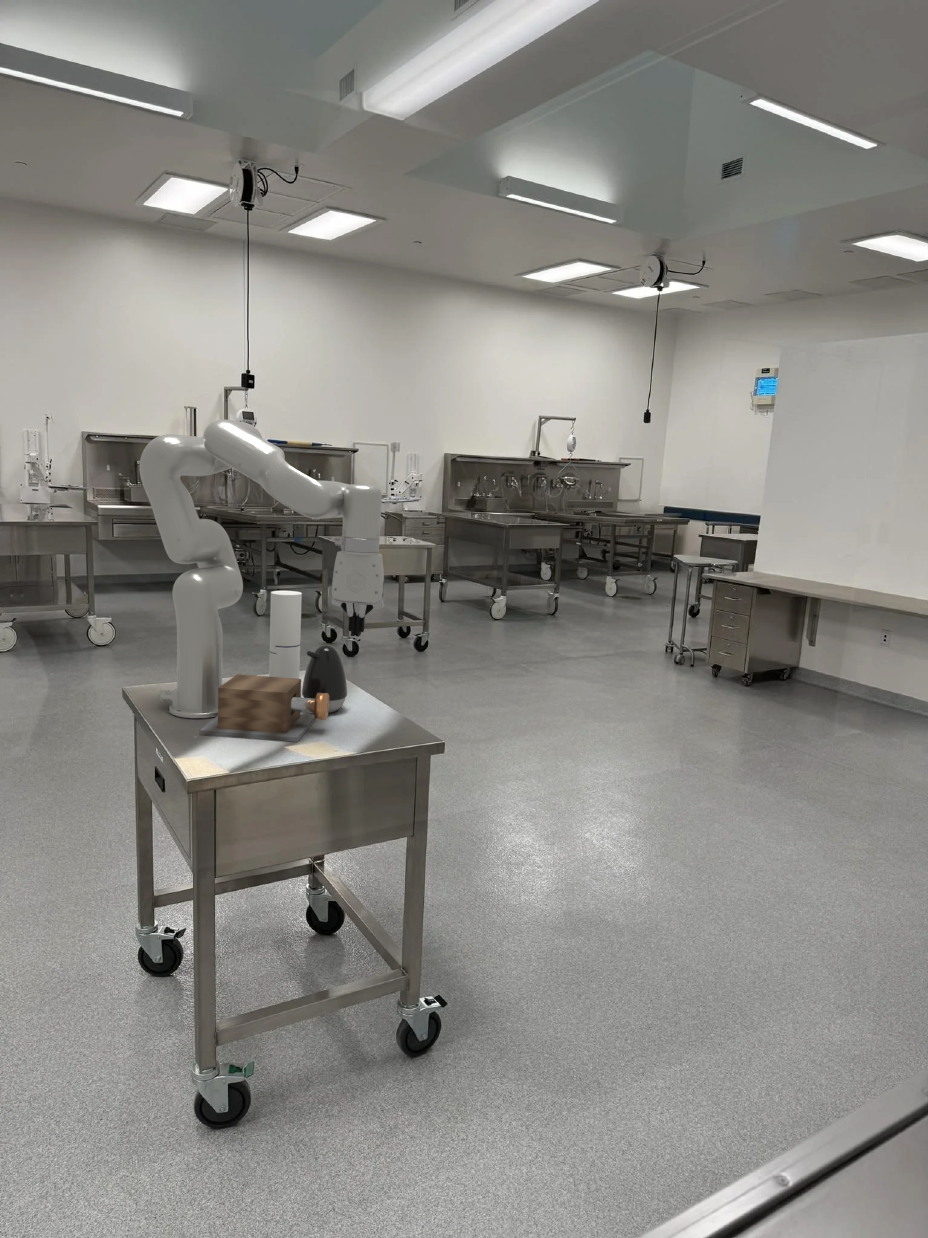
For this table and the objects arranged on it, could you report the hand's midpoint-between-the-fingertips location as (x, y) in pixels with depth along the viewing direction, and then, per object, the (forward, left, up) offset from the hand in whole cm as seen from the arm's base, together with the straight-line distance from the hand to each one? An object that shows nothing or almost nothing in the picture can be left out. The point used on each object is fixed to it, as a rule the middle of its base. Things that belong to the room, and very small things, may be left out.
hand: (356, 635), depth 171 cm
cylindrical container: (-22, +26, -21) cm, 40 cm away
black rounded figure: (-10, +16, -21) cm, 28 cm away
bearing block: (-20, 0, -21) cm, 29 cm away
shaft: (-16, 0, -18) cm, 24 cm away
